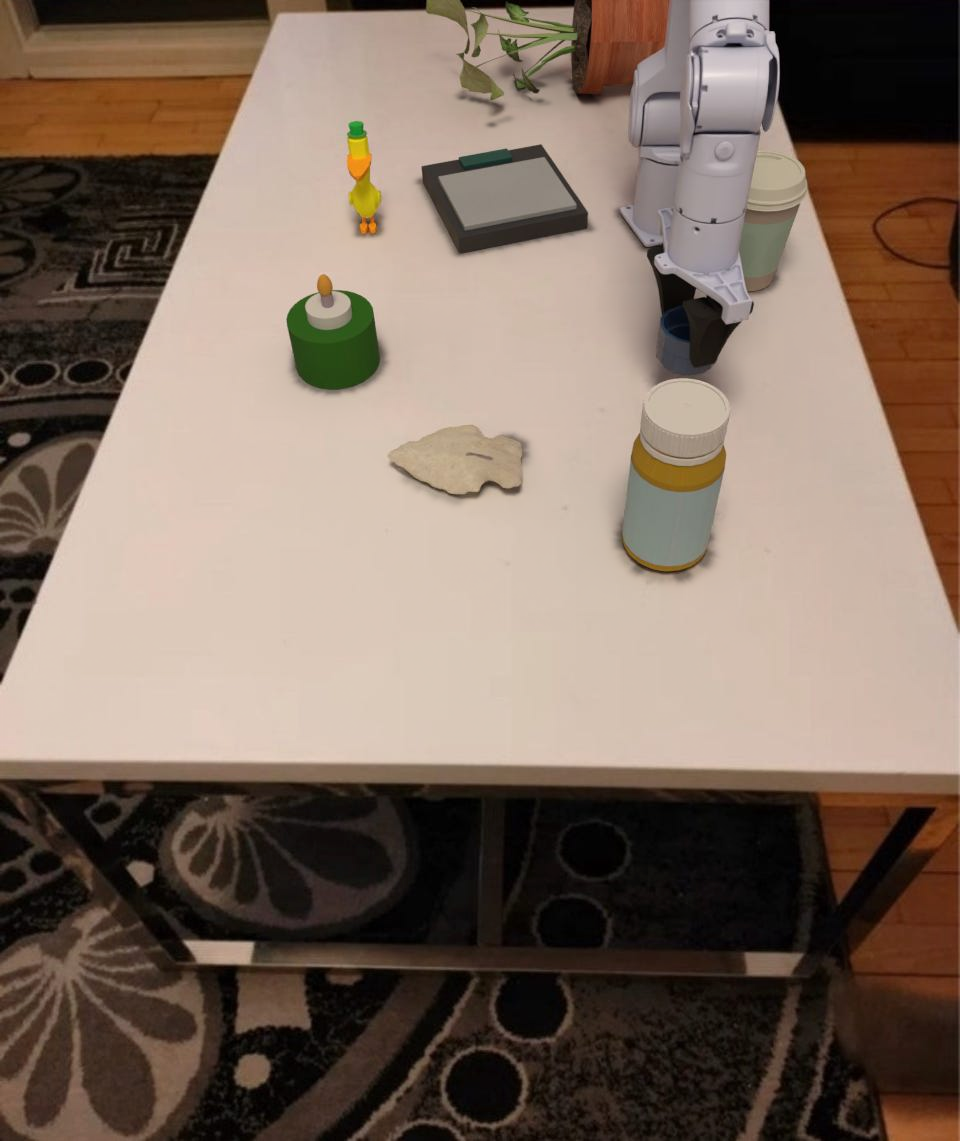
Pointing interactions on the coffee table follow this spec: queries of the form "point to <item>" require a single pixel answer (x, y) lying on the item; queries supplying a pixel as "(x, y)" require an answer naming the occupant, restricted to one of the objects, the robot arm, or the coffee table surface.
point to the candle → (333, 337)
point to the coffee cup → (770, 215)
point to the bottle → (675, 474)
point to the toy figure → (362, 177)
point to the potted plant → (598, 48)
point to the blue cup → (676, 343)
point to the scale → (503, 198)
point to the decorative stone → (461, 459)
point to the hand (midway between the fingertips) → (688, 342)
